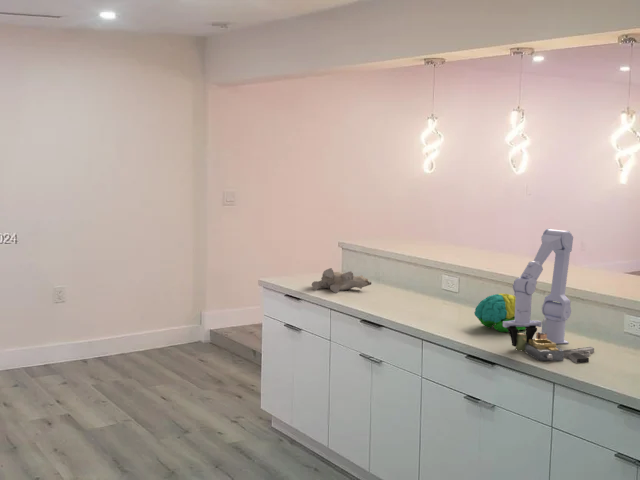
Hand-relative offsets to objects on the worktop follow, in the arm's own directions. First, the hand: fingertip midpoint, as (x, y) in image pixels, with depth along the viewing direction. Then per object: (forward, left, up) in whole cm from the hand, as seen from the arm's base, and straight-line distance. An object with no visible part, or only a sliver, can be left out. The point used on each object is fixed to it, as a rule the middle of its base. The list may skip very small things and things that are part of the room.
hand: (520, 345), depth 277 cm
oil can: (0, 0, -1) cm, 1 cm away
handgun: (+11, +19, -2) cm, 22 cm away
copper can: (-1, +8, -1) cm, 9 cm away
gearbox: (+11, +4, -1) cm, 12 cm away
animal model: (-119, -45, -2) cm, 128 cm away
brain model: (-32, +6, -2) cm, 33 cm away
